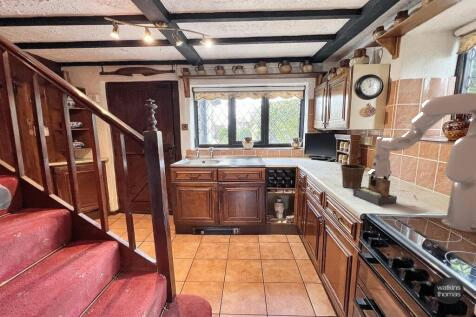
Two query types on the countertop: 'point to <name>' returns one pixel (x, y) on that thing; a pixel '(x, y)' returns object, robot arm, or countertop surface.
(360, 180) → the plant pot
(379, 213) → the countertop surface
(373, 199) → the rack
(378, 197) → the offcut
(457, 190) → the robot arm
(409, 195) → the baseboard
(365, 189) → the offcut
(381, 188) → the walnut board
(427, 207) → the countertop surface
